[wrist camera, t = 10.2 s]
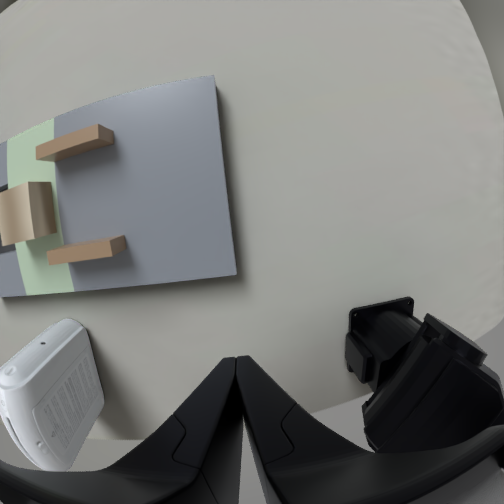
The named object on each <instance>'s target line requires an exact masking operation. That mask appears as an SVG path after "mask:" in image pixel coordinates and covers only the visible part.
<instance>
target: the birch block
mask: <svg viewBox="0 0 504 504" xmlns="http://www.w3.org/2000/svg"><path fill="white" fill-rule="evenodd" d="M53 233H57V229H56V223H55V216H54V208H53V199H52V189H51V182H26V183H23V184H20V185H18V186H15V187H13V188H10V189H8V190H6V191H3V192H1V193H0V234H1V240H2V246H6V245H10V244H14V243H18V242H23V241H27V240H31V239H36V238H39V237H42V236H46V235H50V234H53Z"/></svg>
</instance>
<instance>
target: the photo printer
mask: <svg viewBox="0 0 504 504" xmlns="http://www.w3.org/2000/svg"><path fill="white" fill-rule="evenodd" d="M103 406H104V395H103V390H102V387H101V383H100V380H99V376H98V372H97V368H96V364H95V361H94V357H93V352H92V348H91V345H90V341H89V337H88V334H87V331H86V329H85V327H82V325H81V324H80V323H79V322H77V321H75V320H73V319H63V320H61V321H60V322H59V323H54V324H53V325H51V326H50V327H49V328H47V329H46V330H45V331H43V332H42V333H41V334H40V335H38V336H37V337H36V338H35V339H34V340H32V341H31V342H30V343H29V344H27V345H26V346H25V347H24V348H23V349H21V350H20V351H19V352H18V353H17V354H16V355H14V356H13V357H12V358H11V359H10V360H9V361H7V362H6V363H5V364H4V365H3V366H2V367H1V368H0V415H1V417H2V420H3V422H4V424H5V426H6V428H7V430H8V432H9V434H10V435H11V437H12V439H13V440H14V442H15V443H16V445H17V446H18V447H19V449H20V450H21V451H22V452H23V453H24V455H25V456H26V457H27V458H28V459H29V460H30V461H31V462H32V463H34V464H35V465H36V466H38V467H39V468H41V469H43V470H45V471H59V472H66V471H67V470H68V469H70V467H71V466H72V464H73V462H74V461H75V459H76V457H77V455H78V453H79V451H80V449H81V447H82V445H83V443H84V441H85V439H86V437H87V436H88V434H89V432H90V430H91V428H92V426H93V424H94V423H95V421H96V419H97V417H98V416H99V414H100V412H101V410H102V408H103Z"/></svg>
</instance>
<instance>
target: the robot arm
mask: <svg viewBox="0 0 504 504" xmlns="http://www.w3.org/2000/svg"><path fill="white" fill-rule="evenodd" d="M409 301H410V302H409ZM408 302H409V304H408ZM413 308H414V300H413V299H412V298H411V297H404V298H400V299H396V300H391V301H387V302H382V303H377V304H373V305H368V306H363V307H358V308H354V309H352V310H351V311H350V313H349V332H348V333H347V335H346V352H345V358H346V360H347V369H348V370H349V372H355V374H356V376H357V377H358V379H359V380H360V382H361V383H363V384H364V383H368V385H369V386H370V388H371V389H372V391H373V392H374V394H373V395H372V397H371V398H370V399H369V400H368V401H366V402H365V403H364V404H363V405H362V412H363V418H364V425H365V428H364V433H365V435H366V439H367V442H368V445H369V446H370V447H371V448H372V449H373V450H374V451H375V453H374V452H370V451H367V450H365V449H363V448H361V447H359V446H357V445H355V444H354V443H352V442H350V441H349V440H347V439H345V438H344V437H342V436H340V435H339V434H337V433H336V432H334V431H332V430H331V429H329V428H328V427H326V426H325V425H323V424H322V423H321V422H319V421H318V420H316V419H315V418H314V417H312V416H311V415H310V414H309V413H308V412H307V411H305V410H304V409H303V408H302V407H301V406H300V405H299V404H297V402H296V401H295V400H294V399H292V398H291V397H290V396H289V395H288V394H287V393H286V392H285V391H284V390H283V389H282V388H281V387H280V386H279V385H278V384H277V383H276V382H275V381H274V380H273V379H272V378H271V377H270V376H269V375H268V374H267V373H266V372H265V371H264V370H263V369H262V368H261V367H260V366H259V365H258V364H257V363H256V362H255V361H254V360H253V359H252V358H251V357H250V356H249V355H246V356H238V357H237V358H235V357H228V358H223V359H222V360H221V361H220V362H219V363H218V365H217V366H216V367H215V368H214V369H213V370H212V371H211V372H210V374H209V375H208V376H207V377H206V378H205V379H204V380H203V381H202V382H201V384H200V385H199V386H198V387H197V388H196V389H195V390H194V391H193V392H192V393H191V394H190V396H189V397H188V398H187V399H186V400H185V401H184V402H183V403H182V404H181V405H180V406H179V407H178V409H177V410H176V411H175V412H174V413H173V415H171V416H170V417H169V418H168V419H167V420H166V421H165V422H164V423H163V424H162V425H161V426H160V427H159V428H158V429H157V430H156V431H155V432H154V433H152V434H151V435H150V436H149V437H148V438H146V439H145V440H144V441H143V442H142V443H140V444H139V445H138V446H136V447H135V448H134V449H133V450H131V451H130V452H129V453H127V454H126V455H125V456H123V457H122V458H121V459H119V460H118V461H117V462H115V463H114V464H112V465H111V466H109V467H107V468H104V469H102V470H98V471H86V472H59V471H39V470H30V469H24V468H19V467H15V466H12V465H10V464H7V463H5V462H3V461H2V460H0V500H1V502H3V504H238V503H239V486H240V471H241V470H240V469H241V455H242V438H243V417H244V422H245V426H246V430H247V434H248V438H249V442H250V446H251V450H252V453H253V457H254V461H255V464H256V468H257V471H258V475H259V479H260V482H261V485H262V489H263V493H264V496H265V499H266V503H267V504H504V391H503V388H502V385H501V381H500V378H499V376H498V375H497V374H496V373H495V372H494V371H492V370H491V369H490V368H488V367H487V366H486V365H484V364H483V361H484V360H485V358H486V356H487V354H486V353H485V352H484V351H483V350H482V349H481V348H480V347H479V346H478V345H477V344H476V343H475V342H473V341H472V340H470V339H469V338H467V337H466V336H464V335H463V334H462V333H460V332H459V331H457V330H455V329H454V328H452V327H450V326H449V325H447V324H446V323H444V322H442V321H441V320H439V319H437V318H435V317H434V316H432V315H430V314H429V313H427V314H426V316H425V317H424V322H423V323H422V322H421V321H420V320H418V319H417V318H416V317H414V316H413ZM355 313H357V315H356V316H354V314H355Z"/></svg>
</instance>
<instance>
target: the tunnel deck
mask: <svg viewBox="0 0 504 504" xmlns="http://www.w3.org/2000/svg"><path fill="white" fill-rule="evenodd" d="M26 182H51V189H52V199H53V208H54V216H55V223H56V229H57V233H53V234H50V235H46V236H42V237H39V238H36V239H31V240H27V241H23V242H18V243H14V244H10V245H6V246H2V240H1V234H0V297H11V296H25V295H39V294H51V293H64V292H75V291H87V290H98V289H109V288H119V287H129V286H139V285H149V284H159V283H168V282H178V281H187V280H196V279H204V278H213V277H222V276H230V275H237V266H236V258H235V250H234V242H233V234H232V226H231V218H230V210H229V202H228V193H227V185H226V176H225V167H224V158H223V149H222V140H221V131H220V121H219V112H218V102H217V92H216V84H215V78H214V75H211V76H204V77H197V78H191V79H185V80H180V81H175V82H169V83H165V84H160V85H155V86H151V87H147V88H143V89H139V90H135V91H131V92H127V93H124V94H120V95H117V96H113V97H110V98H107V99H104V100H101V101H98V102H95V103H92V104H89V105H86V106H83V107H80V108H78V109H75V110H72V111H70V112H67V113H65V114H62V115H60V116H57V117H55V118H52V119H50V120H48V121H46V122H43V123H41V124H39V125H37V126H35V127H32V128H30V129H28V130H26V131H24V132H22V133H20V134H18V135H16V136H14V137H13V138H11V139H9V140H7V141H5V142H3V143H1V144H0V193H1V192H3V191H6V190H8V189H10V188H13V187H15V186H18V185H20V184H23V183H26Z"/></svg>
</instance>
